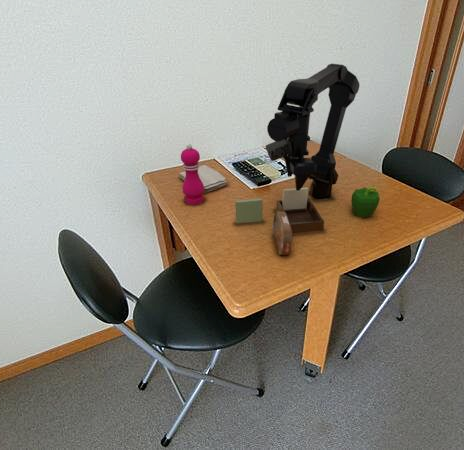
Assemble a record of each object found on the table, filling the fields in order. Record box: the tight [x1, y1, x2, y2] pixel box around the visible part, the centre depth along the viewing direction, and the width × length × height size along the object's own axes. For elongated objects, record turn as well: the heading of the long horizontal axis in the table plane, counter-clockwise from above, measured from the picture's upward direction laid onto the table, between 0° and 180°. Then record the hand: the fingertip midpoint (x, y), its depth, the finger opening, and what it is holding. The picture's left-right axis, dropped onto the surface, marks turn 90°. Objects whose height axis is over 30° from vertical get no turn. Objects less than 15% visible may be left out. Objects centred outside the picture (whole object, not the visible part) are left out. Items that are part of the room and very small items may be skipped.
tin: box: [272, 210, 293, 256], centre depth 93 cm, size 15×3×8 cm, turn 5°
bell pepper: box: [350, 186, 381, 219], centre depth 107 cm, size 8×8×10 cm
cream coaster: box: [281, 186, 310, 210], centre depth 108 cm, size 1×8×8 cm, turn 100°
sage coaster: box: [235, 198, 264, 224], centre depth 102 cm, size 1×8×8 cm, turn 100°
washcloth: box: [178, 165, 229, 195], centre depth 127 cm, size 12×18×3 cm, turn 40°
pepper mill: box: [180, 143, 205, 206], centre depth 111 cm, size 7×7×20 cm
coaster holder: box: [275, 197, 325, 235], centre depth 105 cm, size 14×11×4 cm
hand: (293, 183), depth 100 cm, fingers open, 9 cm apart
